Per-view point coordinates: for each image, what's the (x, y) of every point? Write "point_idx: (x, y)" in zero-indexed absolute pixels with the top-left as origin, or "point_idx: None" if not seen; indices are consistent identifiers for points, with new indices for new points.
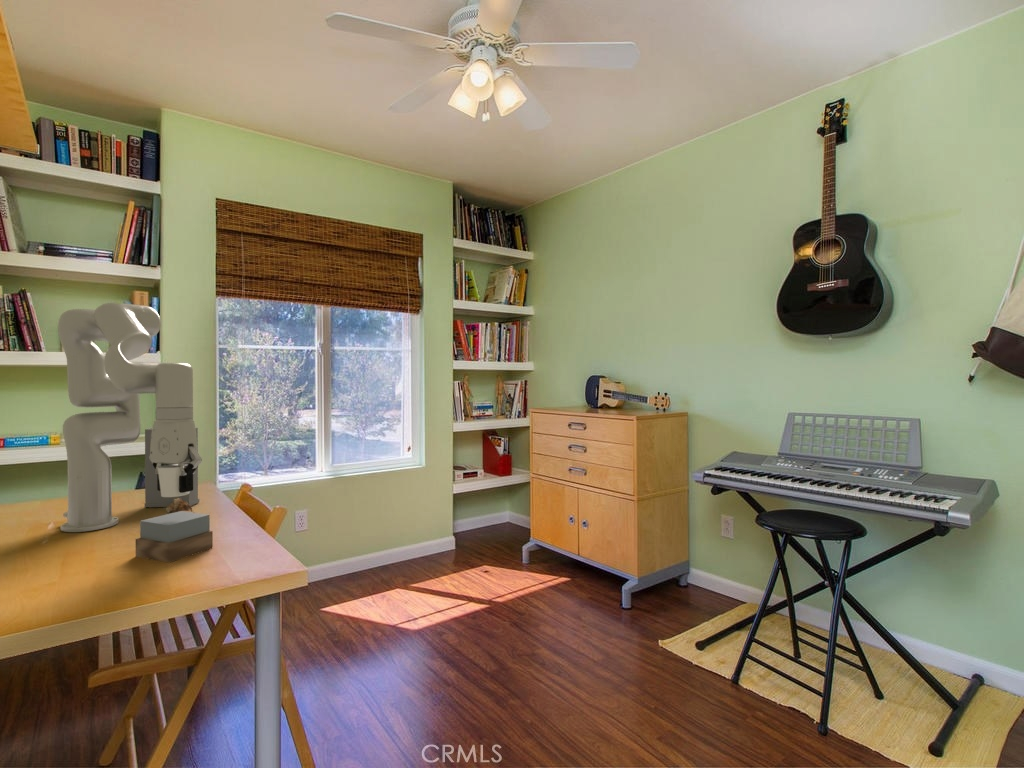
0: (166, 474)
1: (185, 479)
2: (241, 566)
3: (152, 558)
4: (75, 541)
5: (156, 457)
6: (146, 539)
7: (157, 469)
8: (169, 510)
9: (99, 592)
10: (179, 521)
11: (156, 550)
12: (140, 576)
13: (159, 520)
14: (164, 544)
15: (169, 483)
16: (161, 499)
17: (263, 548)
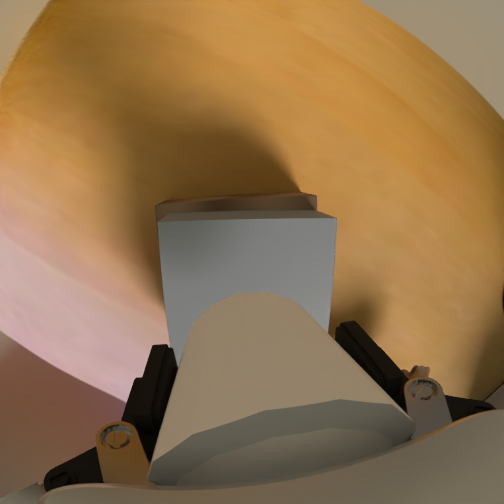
0: (225, 378)
1: (129, 412)
2: (13, 261)
3: (233, 195)
4: (495, 215)
5: (461, 473)
6: (277, 206)
7: (426, 399)
8: (417, 370)
9: (129, 26)
10: (177, 276)
11: (215, 198)
12: (135, 109)
13: (269, 252)
14: (177, 203)
15: (207, 344)
16: (501, 398)
17: (78, 361)
